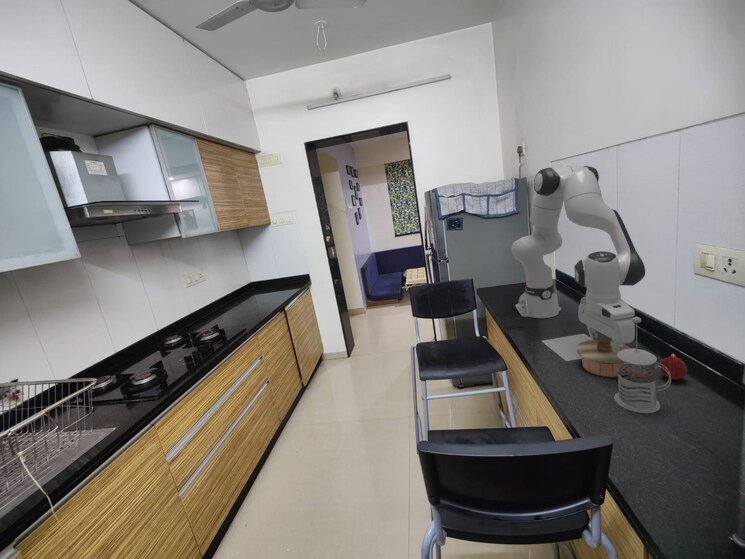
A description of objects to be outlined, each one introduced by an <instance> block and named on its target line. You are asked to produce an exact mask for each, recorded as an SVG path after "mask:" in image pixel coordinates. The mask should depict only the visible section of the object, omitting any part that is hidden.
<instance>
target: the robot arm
mask: <svg viewBox="0 0 745 559" xmlns="http://www.w3.org/2000/svg"><path fill="white" fill-rule="evenodd" d="M599 180H600V175H599V172H598V170H597V169H596V168H595V167H593V166H588V165H584V166H581V165H566V166H558V167H557V166H556V167H545V168H542V169H540V170H539V171H538V172H537V173H536V175H535V177H534V179H533V181H534V182H533V189H534V191H535V193H536V194H535V198H534V201H533V204H532V209H531V212H530V217H529V221H530V223H531V224H532V225H533V226H534V232H533V233H532V234H529V235H526V236H522V237H520V238H518V239H516V240H515V241H514V242H513V243H512V244H511V247H510V248H511V249H510V251H511V254H512V256H513V258H514V259H515V260H517V261H519V262H520V263H521V264H522V267H523V268H524V274H525V282H526V284H525V286H524V287H525V288H524V289H525V290H524V292H523V293H522V294H521V295H520V297H519V299H518V303H517V304H515V306H514V307H515V308H516V309H517V311H518V313H519V314H520V315H521V317H524V318H525V317H526V318H527V317H528V318H529V317H530V318H536V319H546V318H553V317H555V316H557V315H559V313H560V311H562V307H561V306H560V305H559V300H558V294H557V293H555V285H554V282H553V270H552V268H551V267H550V266H549V265H547V264H546V263H545V261H544V256H547V255H550V254H553V253H554V252H556V251H558V250H559V249H560V248H561V247H562V245H563V237H562V235H561V234H560V233H559V231H558V225H559V224H558V223H559V219H560V216H561V212H562V208H563V206H564V210H565V214H566V217H567V219H568V220H569V221H570V222H572V223H573V224H575V225H578V226H580V227H586V228H590V229H597V230H600V231H602V232H606V234H607V235H609V237H610V239H611V242H612V244H613V246H614V248H615V251H616V253H614V252H610V251H603V250H602V251H595V252H591V253H589V254H587V255H586V258H582V259H579V261H577V262H576V263H575V265H574V266H573V268H574V282H576V284H579V286H581V287H582V288H583V287H584V288H586V293H585V295H584V296H583V297H581V299H580V303H578V304H579V305H578V312H577V313H578V314H577V315H578V320H579V322H581V323H582V324H584V325H586V329H587V331H588V333H589V337H590V338H592V339H594V340H598V338H599V334H598V332H599V333H601V334H602V335H604V336H606V337H608V338H609V339H611V341H612V342H614V343H613V345H610V349H611V350H612V351H614V352H618V351H619V346H620V345H621V344H624V345H626V344H630V343H633V341H635V339H636V324H635V322H632V318H633V317H635V316H636V315H635V314H636V313H635V310H634V308H632V307H631V306H630V305H628V304H627V303H626V302H625V301H624V300H623V299H622V294H621V291H620V286H630V287H631V286H635V285H637V284H638V283H640V282H641V281H642V279H644V278H645V276H646V267H645V263H644V262H643V259H642V257H641V256H640V255H639V253H638V251H637V250H636V247H635V245H634V243H633V240H632V238H631V236H630V234H629V232H628V229H627V227H626V225H625V223H624V221H623V218H622V217H621V215H620V214H619V212H618V211H617V210H616V209H613V208H611V207H609V206H608V205H607V203H605V201H604V199H603V196H602V190H601V188H600V187H601V186H600V184H599Z"/></svg>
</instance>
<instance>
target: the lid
mask: <svg viewBox="0 0 745 559" xmlns="http://www.w3.org/2000/svg"><path fill="white" fill-rule="evenodd" d="M613 343H614V342H612V340H609V339H605V338H600V339H594V340H588V341H584V342H581V343H579V344H578V345H577V348H576V349H577V353H578V354H579V355H580V356H581V357H583V358H585V359H587V360H590V361H593V362H597V363H603V364H621V363H626V362H623V361H622V360H620V359H619V358H618V355H617V354H618V352H619V351H622V350H625V349H632V348H631V347H630V346H628V345H626V344H621V345H620V346H619V351H618V352H614V351H612V350H611V349H610V345H613Z"/></svg>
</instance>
